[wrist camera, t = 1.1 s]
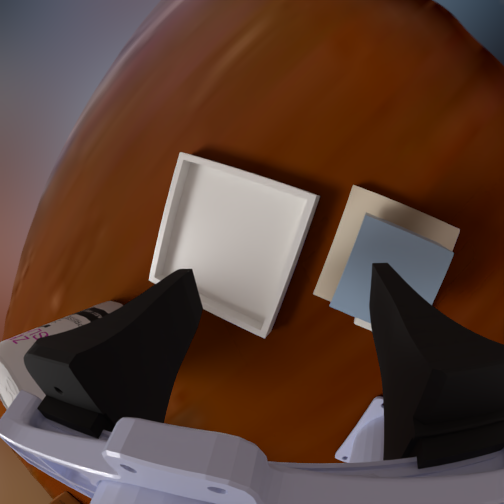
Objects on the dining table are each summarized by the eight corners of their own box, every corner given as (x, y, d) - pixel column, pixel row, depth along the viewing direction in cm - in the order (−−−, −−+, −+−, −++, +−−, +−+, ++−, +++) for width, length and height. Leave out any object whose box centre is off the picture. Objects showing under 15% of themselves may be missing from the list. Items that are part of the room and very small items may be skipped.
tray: (320, 195, 22) (316, 195, 20) (271, 330, 25) (264, 338, 23) (190, 154, 25) (180, 152, 24) (159, 276, 28) (148, 280, 26)
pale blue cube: (438, 242, 18) (454, 253, 14) (402, 323, 19) (408, 349, 16) (365, 212, 19) (365, 214, 15) (333, 295, 21) (324, 315, 17)
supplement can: (134, 383, 32) (34, 451, 18) (89, 328, 33) (-16, 374, 19) (167, 345, 29) (45, 423, 15) (114, 283, 30) (-14, 326, 16)
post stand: (456, 228, 19) (478, 235, 14) (412, 330, 21) (420, 361, 16) (353, 185, 21) (349, 180, 16) (315, 290, 23) (300, 312, 18)
